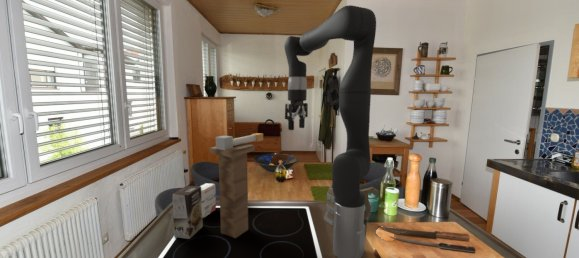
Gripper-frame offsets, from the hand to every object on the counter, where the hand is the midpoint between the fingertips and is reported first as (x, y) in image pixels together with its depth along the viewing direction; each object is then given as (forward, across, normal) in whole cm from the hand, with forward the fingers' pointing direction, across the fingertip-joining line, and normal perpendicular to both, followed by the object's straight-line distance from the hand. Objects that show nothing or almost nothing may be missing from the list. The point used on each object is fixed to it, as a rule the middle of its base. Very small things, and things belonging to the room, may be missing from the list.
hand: (296, 128), depth 108 cm
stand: (+36, -25, +11) cm, 46 cm away
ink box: (+37, -20, +32) cm, 53 cm away
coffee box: (+37, -34, +25) cm, 56 cm away
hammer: (+4, -21, +11) cm, 24 cm away
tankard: (+36, +6, -22) cm, 43 cm away
